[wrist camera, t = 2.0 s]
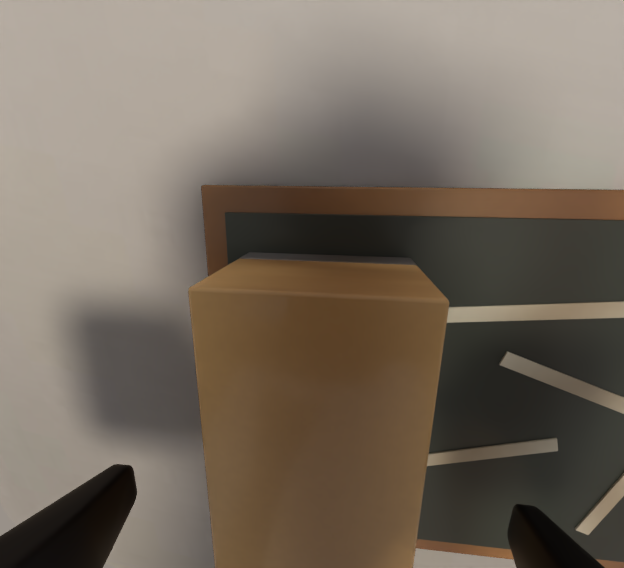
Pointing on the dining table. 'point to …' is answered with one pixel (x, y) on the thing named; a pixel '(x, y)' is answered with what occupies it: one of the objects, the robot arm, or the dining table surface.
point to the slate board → (487, 340)
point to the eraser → (316, 407)
